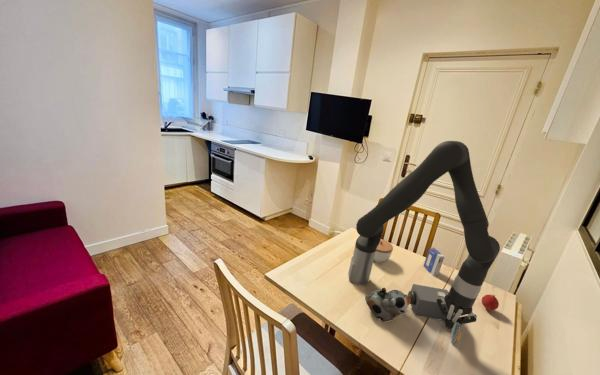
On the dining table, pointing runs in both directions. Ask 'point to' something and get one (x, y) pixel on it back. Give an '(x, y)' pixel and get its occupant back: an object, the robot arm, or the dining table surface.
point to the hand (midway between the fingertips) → (447, 326)
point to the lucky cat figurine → (387, 304)
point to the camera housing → (427, 301)
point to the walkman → (433, 261)
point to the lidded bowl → (383, 251)
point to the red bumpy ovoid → (490, 302)
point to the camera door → (455, 332)
